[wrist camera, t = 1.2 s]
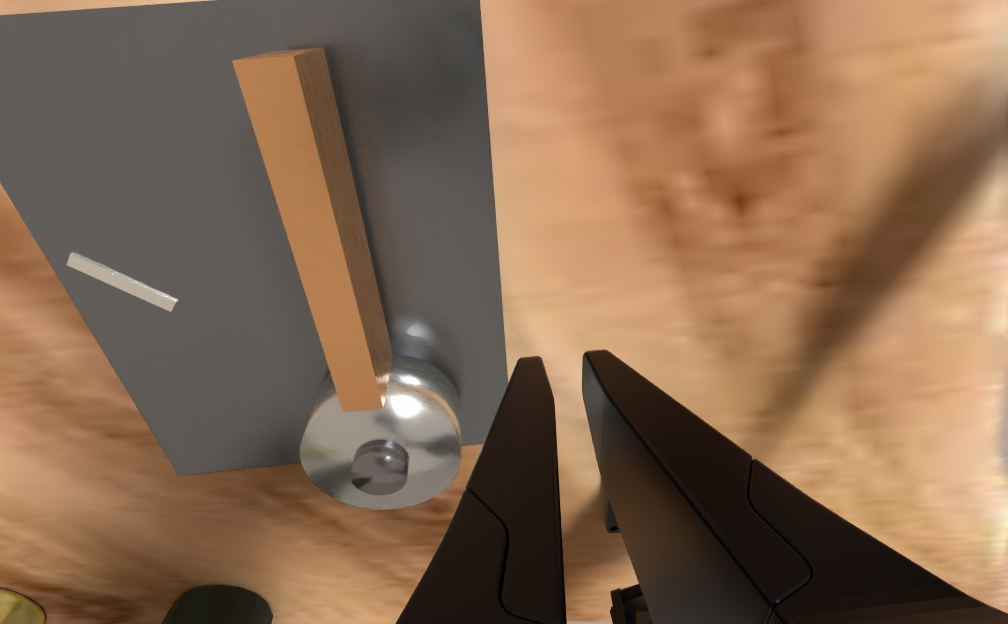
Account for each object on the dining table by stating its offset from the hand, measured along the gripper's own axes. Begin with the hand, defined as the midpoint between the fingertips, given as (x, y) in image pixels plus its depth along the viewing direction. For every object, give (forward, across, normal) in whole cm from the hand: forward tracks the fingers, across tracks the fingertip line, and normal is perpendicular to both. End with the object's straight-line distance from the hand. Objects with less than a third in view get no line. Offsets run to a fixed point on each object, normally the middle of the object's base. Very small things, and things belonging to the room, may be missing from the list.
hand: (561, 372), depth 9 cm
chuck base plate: (+13, +10, +4) cm, 17 cm away
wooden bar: (+12, +6, +5) cm, 14 cm away
